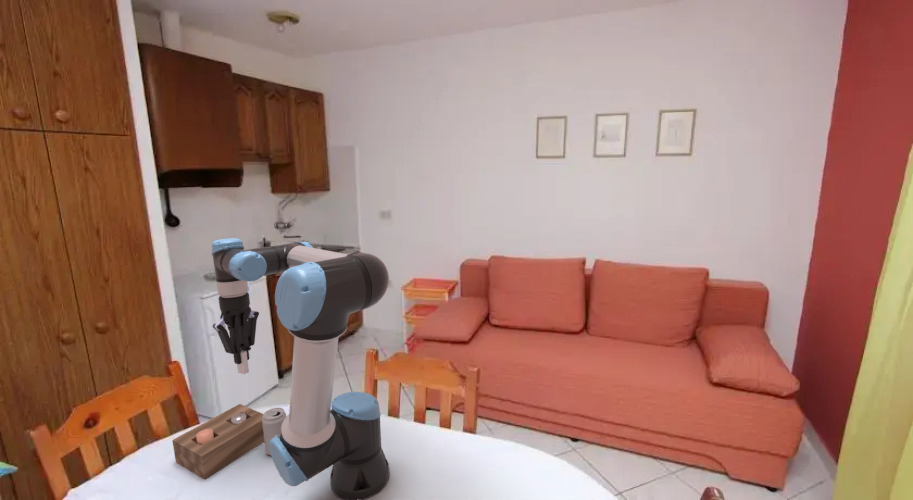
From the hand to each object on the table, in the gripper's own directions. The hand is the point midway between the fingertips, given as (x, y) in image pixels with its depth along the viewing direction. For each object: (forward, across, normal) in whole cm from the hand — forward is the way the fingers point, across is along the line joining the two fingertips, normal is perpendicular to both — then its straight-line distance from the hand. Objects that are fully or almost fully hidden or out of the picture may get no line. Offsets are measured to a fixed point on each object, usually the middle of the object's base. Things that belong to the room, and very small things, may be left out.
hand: (243, 372), depth 118 cm
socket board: (+23, +5, -5) cm, 24 cm away
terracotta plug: (+21, +10, -5) cm, 24 cm away
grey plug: (+21, 0, -5) cm, 22 cm away
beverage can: (+23, -1, +9) cm, 25 cm away
